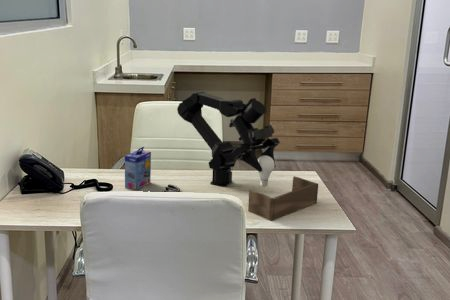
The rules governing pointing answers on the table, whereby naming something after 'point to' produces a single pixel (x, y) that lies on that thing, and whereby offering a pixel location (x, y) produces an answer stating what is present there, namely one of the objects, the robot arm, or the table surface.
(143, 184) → the ink cartridge box
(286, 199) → the open box
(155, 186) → the table surface
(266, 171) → the lightbulb
